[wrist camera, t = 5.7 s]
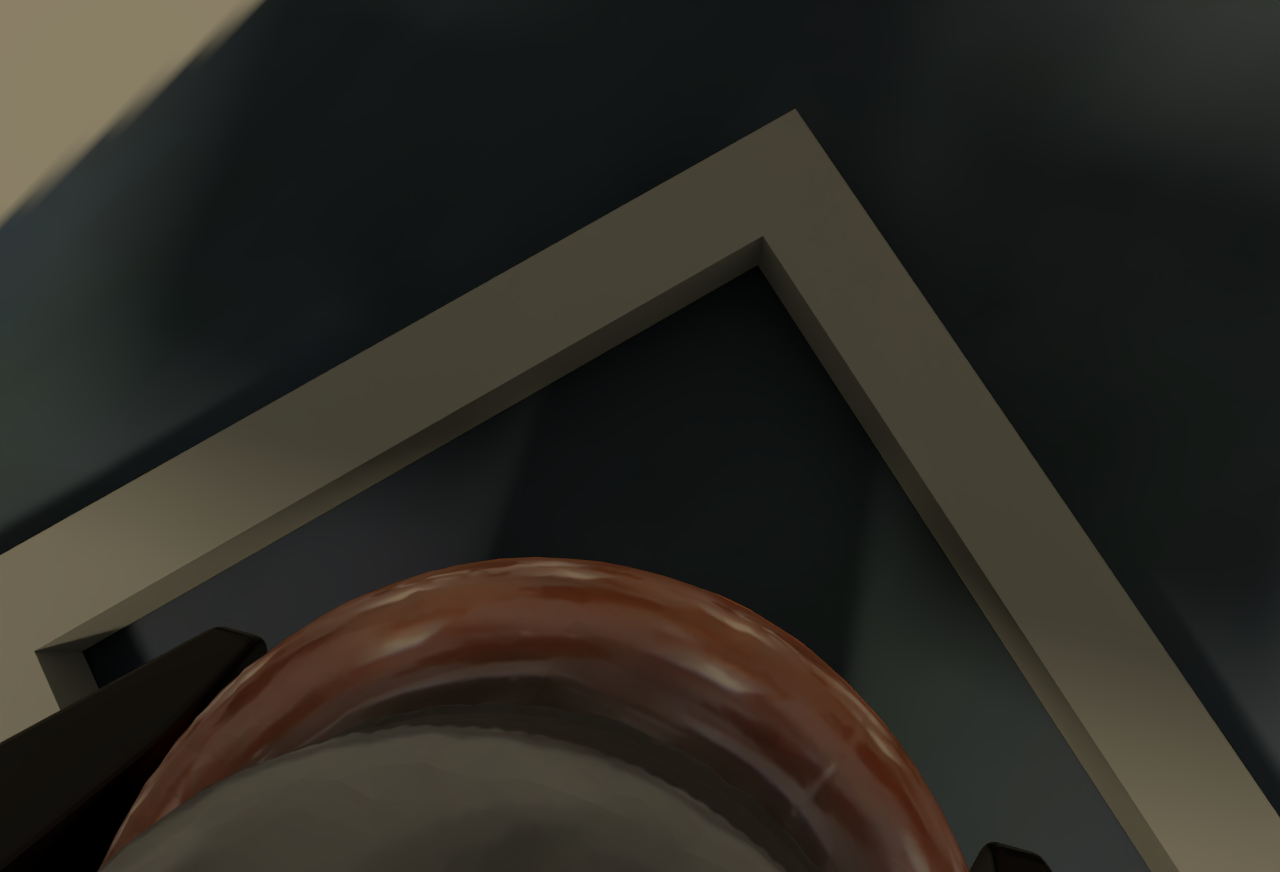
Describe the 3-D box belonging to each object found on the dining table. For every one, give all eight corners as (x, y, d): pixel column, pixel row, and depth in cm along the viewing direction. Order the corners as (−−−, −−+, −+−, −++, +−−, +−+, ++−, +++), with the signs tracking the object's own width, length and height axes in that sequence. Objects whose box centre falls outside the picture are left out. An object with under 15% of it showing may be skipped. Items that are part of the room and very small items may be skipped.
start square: (1377, 1020, 14) (1440, 1052, 13) (400, 1661, 13) (373, 1759, 12) (788, 145, 17) (795, 108, 16) (-44, 615, 16) (-102, 612, 15)
